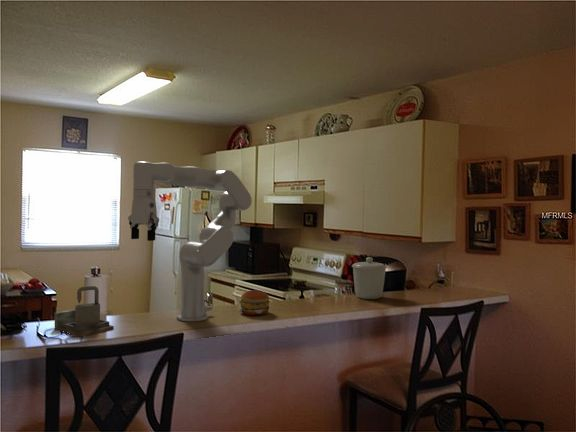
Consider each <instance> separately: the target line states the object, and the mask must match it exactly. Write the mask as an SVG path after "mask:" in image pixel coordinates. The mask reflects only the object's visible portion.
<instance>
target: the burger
mask: <svg viewBox="0 0 576 432" xmlns="http://www.w3.org/2000/svg"><path fill="white" fill-rule="evenodd" d="M270 303H271V301H270V296H269V295H268V294H267V293H266V292H264V291H261V290H257V289H256V290H255V289H254V290H248V291H246V292H243V294H241V296H240V300H239V304H240V305H239V307H238V309H239V313H240V314H241V313H242V314H243V315H244V314H245V315H249V316H260V315H261V316H262V315H265V314H268V312H269V311H270Z"/></svg>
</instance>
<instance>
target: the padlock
mask: <svg viewBox="0 0 576 432" xmlns="http://www.w3.org/2000/svg"><path fill="white" fill-rule="evenodd" d="M99 290H100V289H99V287H98V286H96V285H92V286H91V285H89V286H81V287H79V288H78V289H77V291H76V292H77V294H76V300H77V303H78V304H75V326H76V327H83V326H88V325H93V324H98V323H100V319H101V304H100V303H99V301H100V300H99V299H100V295H99V294H100V293H99V292H100V291H99ZM84 291H94V303H92V302H91V303H81V301H82V292H84Z"/></svg>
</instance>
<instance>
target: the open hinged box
mask: <svg viewBox="0 0 576 432" xmlns="http://www.w3.org/2000/svg"><path fill="white" fill-rule="evenodd" d="M114 327H115V326H114V325H111V324H110V321H108V320H105V319H101V318H100V323H98V324H93V325H88V326H83V327H76V326H75V309H68V310H62V311H57V312H54V330H55V329H57V330H56V331H58V330H61V331H64V332H68V333H70V334H71V336H74V337H77V338H79V337H80V338H81V337H84V336H85V337H86V336H89V335H90V336H91V335H94V334H98V333H103V332H107V331H113V330H114ZM61 331H60V332H61ZM64 332H63V333H64ZM70 334H69V335H70Z"/></svg>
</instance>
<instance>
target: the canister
mask: <svg viewBox="0 0 576 432" xmlns="http://www.w3.org/2000/svg"><path fill="white" fill-rule="evenodd" d="M373 260H374V258H373V257H371V256H369V257H366V258H365V261H359V262H355V263H353V264H352V265H351V267H352V270H353V271H352V274H353V283H354V291H355V292H354V293H355V296H356V297H358V299H363V300H377V299H380V298H381V297H382V295H383V292H384V286H385V278H386V271H387V269H388V266H386V265H385V264H384V263H380V262H376V261H373Z"/></svg>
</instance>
